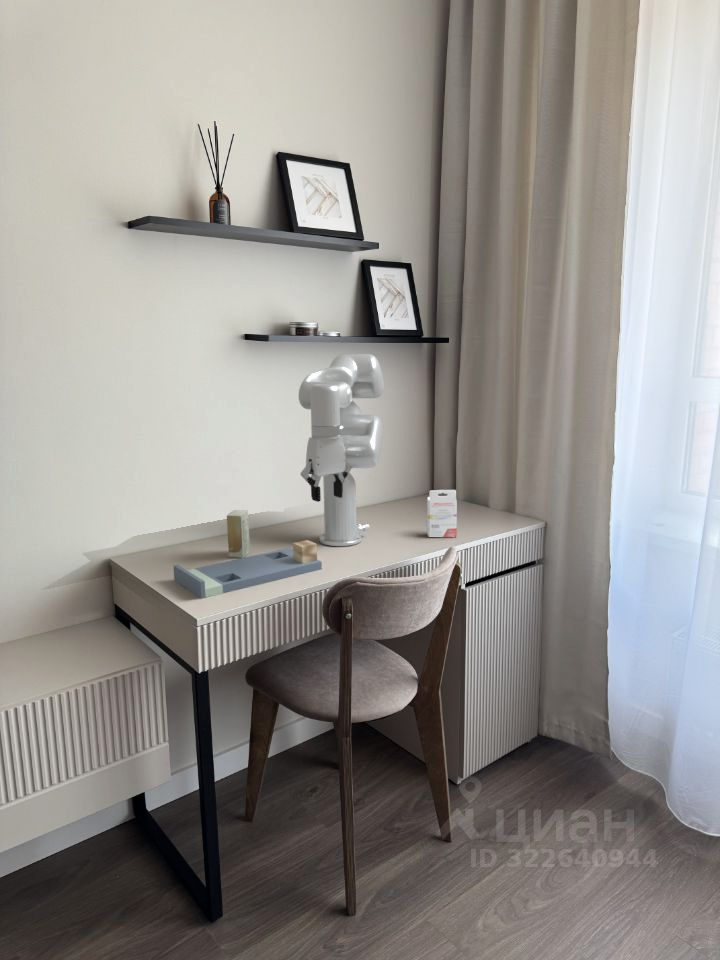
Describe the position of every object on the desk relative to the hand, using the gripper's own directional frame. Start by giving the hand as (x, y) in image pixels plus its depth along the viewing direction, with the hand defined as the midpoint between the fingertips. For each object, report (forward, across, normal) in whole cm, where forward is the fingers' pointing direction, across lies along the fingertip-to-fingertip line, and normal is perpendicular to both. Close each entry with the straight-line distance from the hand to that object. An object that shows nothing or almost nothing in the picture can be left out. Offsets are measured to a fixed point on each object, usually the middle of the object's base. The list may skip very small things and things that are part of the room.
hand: (327, 498), depth 190 cm
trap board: (+18, +22, -4) cm, 28 cm away
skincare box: (+18, +16, -21) cm, 32 cm away
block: (+16, +8, 0) cm, 17 cm away
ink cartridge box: (+18, -41, +1) cm, 45 cm away
